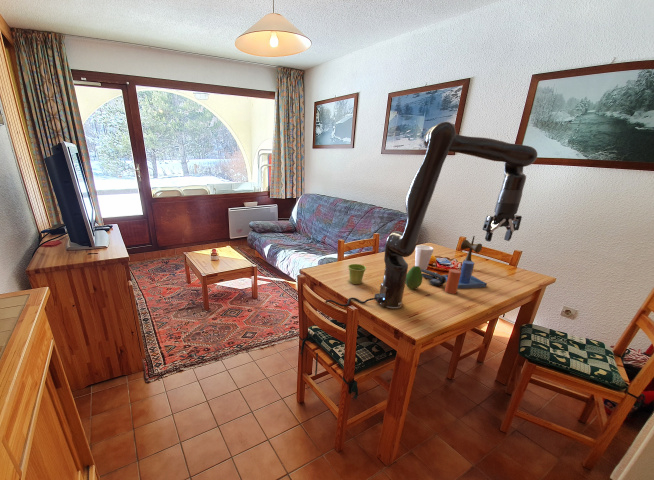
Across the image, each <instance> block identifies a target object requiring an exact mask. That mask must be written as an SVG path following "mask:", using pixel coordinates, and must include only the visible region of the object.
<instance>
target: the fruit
mask: <svg viewBox="0 0 654 480" xmlns="http://www.w3.org/2000/svg"><path fill="white" fill-rule="evenodd" d="M422 273H423V272H421V269H420V267H419V266H415V265H414V266H412V267H410V269H408V271H407V276H406V281H405V286H407V288H409V289H411V290H416V289H418V288H419V287H420V286H421V285H422V283H423V276H422Z"/></svg>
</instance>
